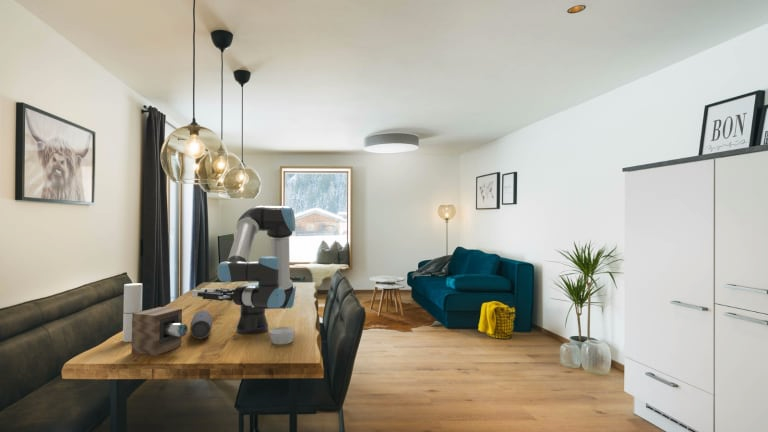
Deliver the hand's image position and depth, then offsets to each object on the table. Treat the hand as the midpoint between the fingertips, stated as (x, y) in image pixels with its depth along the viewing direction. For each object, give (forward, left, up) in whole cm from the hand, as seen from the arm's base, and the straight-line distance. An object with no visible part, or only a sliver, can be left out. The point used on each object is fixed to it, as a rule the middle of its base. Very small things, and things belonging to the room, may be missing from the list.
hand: (197, 292), depth 169 cm
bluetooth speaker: (+8, -29, -25) cm, 39 cm away
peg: (+12, -4, -18) cm, 22 cm away
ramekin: (-32, -17, -25) cm, 44 cm away
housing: (+18, -7, -25) cm, 32 cm away
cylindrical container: (+36, -22, -25) cm, 49 cm away
